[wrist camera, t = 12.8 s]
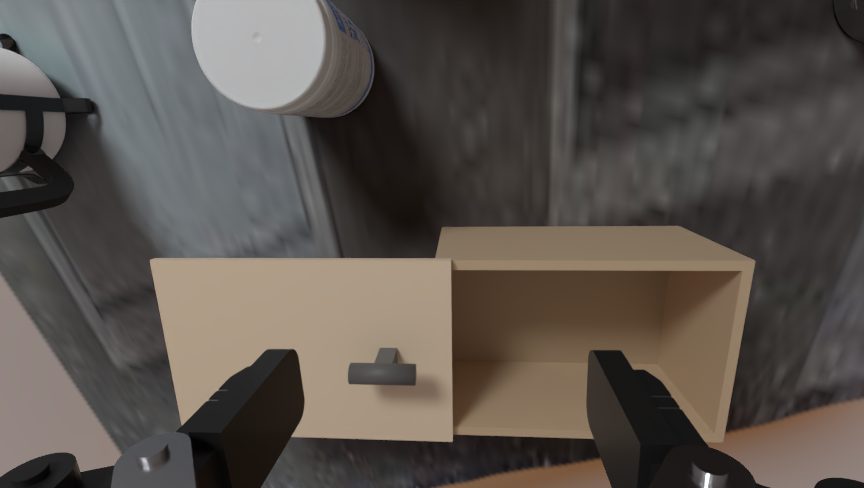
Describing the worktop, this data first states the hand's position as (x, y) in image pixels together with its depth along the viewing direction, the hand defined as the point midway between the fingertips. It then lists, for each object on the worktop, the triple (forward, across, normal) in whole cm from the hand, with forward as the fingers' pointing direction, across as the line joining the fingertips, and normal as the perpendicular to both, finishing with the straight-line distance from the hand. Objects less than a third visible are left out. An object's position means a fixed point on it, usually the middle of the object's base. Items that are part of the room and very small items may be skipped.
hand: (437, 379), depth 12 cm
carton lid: (+22, +14, +11) cm, 28 cm away
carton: (+34, -9, +12) cm, 37 cm away
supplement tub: (+34, +13, -13) cm, 39 cm away
